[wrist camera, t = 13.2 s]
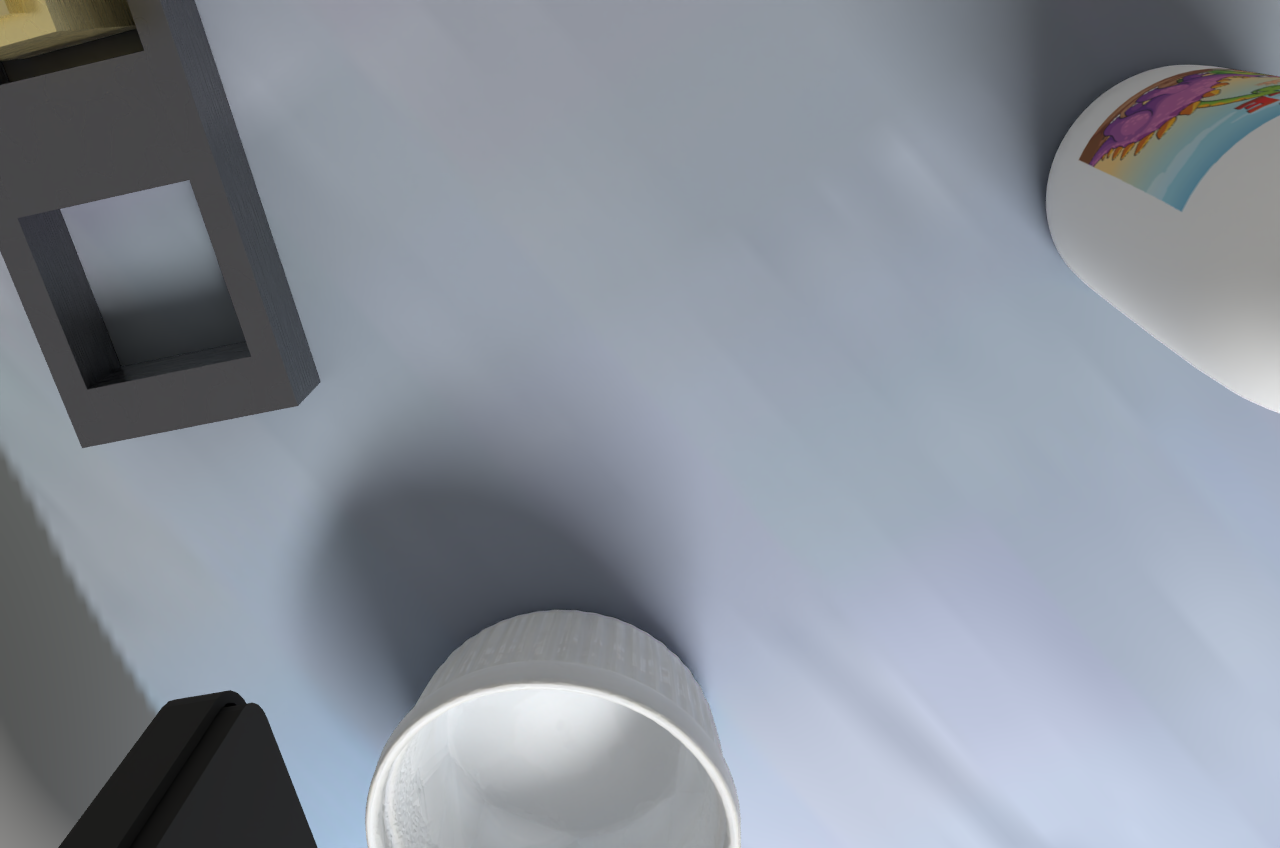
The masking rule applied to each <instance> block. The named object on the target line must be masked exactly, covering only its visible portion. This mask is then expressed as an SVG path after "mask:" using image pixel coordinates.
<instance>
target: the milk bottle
mask: <svg viewBox="0 0 1280 848" xmlns="http://www.w3.org/2000/svg"><path fill="white" fill-rule="evenodd" d="M1046 212H1047V221H1048V225H1049V229H1050V233H1051V236H1052V239H1053V242H1054V244H1055V246H1056V248H1057V250H1058V252H1059V254H1060V255H1061V257H1062V259H1063V260H1064V262H1065V263H1066V264H1067V265H1068V267H1069V268H1070V269H1071V270H1072V271H1073V272H1074V273H1075V274H1076V275H1077V276H1078V277H1079V278H1080V279H1081V280H1082V281H1083V282H1084V283H1085V284H1086V285H1087V286H1089V287H1090V288H1091V289H1092V290H1094V291H1095V292H1096V293H1097V294H1099V295H1100V296H1101V297H1102V298H1104V299H1105V300H1106V301H1108V302H1109V303H1110V304H1111V305H1113V306H1114V307H1115V308H1117V309H1118V310H1119V311H1120V312H1122V313H1123V314H1124V315H1126V316H1127V317H1128V318H1130V319H1131V320H1132V321H1133V322H1135V323H1136V324H1137V325H1139V326H1140V327H1141V328H1143V329H1144V330H1145V331H1147V332H1148V333H1149V334H1150V335H1152V336H1153V337H1154V338H1156V339H1157V340H1159V341H1160V342H1161V343H1163V344H1164V345H1165V346H1167V347H1168V348H1169V349H1171V350H1172V351H1173V352H1175V353H1176V354H1177V355H1179V356H1180V357H1182V358H1183V359H1184V360H1186V361H1187V362H1188V363H1190V364H1191V365H1192V366H1194V367H1195V368H1197V369H1198V370H1200V371H1201V372H1203V373H1204V374H1206V375H1207V376H1209V377H1211V378H1212V379H1214V380H1215V381H1217V382H1218V383H1220V384H1221V385H1223V386H1224V387H1226V388H1228V389H1229V390H1231V391H1232V392H1234V393H1235V394H1237V395H1239V396H1241V397H1243V398H1245V399H1247V400H1249V401H1251V402H1253V403H1256V404H1258V405H1260V406H1262V407H1265V408H1267V409H1269V410H1272V411H1275V412H1277V413H1280V77H1278V76H1272V75H1266V74H1260V73H1254V72H1247V71H1241V70H1234V69H1228V68H1221V67H1215V66H1202V65H1172V66H1165V67H1160V68H1156V69H1152V70H1148V71H1145V72H1142V73H1140V74H1137V75H1135V76H1132V77H1130V78H1128V79H1126V80H1124V81H1122V82H1120V83H1119V84H1117V85H1115V86H1114V87H1112V88H1111V89H1109V90H1108V91H1106V92H1105V93H1103V94H1102V95H1101V96H1100V97H1098V98H1097V99H1096V100H1095V101H1094V102H1093V103H1091V104H1090V105H1089V106H1088V107H1087V108H1086V109H1085V110H1084V111H1083V113H1082V114H1081V115H1080V116H1079V117H1078V118H1077V119H1076V121H1075V122H1074V123H1073V125H1072V126H1071V128H1070V129H1069V130H1068V132H1067V134H1066V135H1065V137H1064V139H1063V140H1062V142H1061V144H1060V146H1059V148H1058V150H1057V152H1056V155H1055V158H1054V160H1053V163H1052V166H1051V170H1050V173H1049V178H1048V184H1047V192H1046Z"/></svg>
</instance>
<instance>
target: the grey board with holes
mask: <svg viewBox="0 0 1280 848" xmlns="http://www.w3.org/2000/svg"><path fill="white" fill-rule="evenodd" d="M127 2H128V5H129V8H130V11H131V14H132V17H133V20H134V22H135V25H136V28H137V31H138V34H139V37H140V40H141V43H142V45H143V48H144V51H141V52H137V53H133V54H128V55H124V56H120V57H116V58H112V59H107V60H103V61H99V62H95V63H91V64H87V65H82V66H78V67H74V68H70V69H66V70H61V71H57V72H53V73H49V74H45V75H40V76H36V77H32V78H28V79H24V80H20V81H15V82H11V83H10V82H9V79H8V77H7V74H6V72H5V69H4V67H3V64H2V62H1V61H0V251H1V254H2V256H3V258H4V261H5V263H6V266H7V268H8V270H9V273H10V275H11V278H12V280H13V282H14V285H15V287H16V290H17V292H18V295H19V297H20V299H21V302H22V304H23V307H24V309H25V311H26V314H27V316H28V319H29V321H30V323H31V326H32V328H33V331H34V333H35V335H36V338H37V340H38V343H39V345H40V348H41V350H42V352H43V355H44V357H45V360H46V362H47V364H48V367H49V369H50V372H51V374H52V376H53V379H54V381H55V384H56V386H57V388H58V391H59V393H60V396H61V398H62V401H63V403H64V405H65V408H66V410H67V413H68V415H69V417H70V420H71V422H72V425H73V427H74V429H75V432H76V434H77V437H78V439H79V441H80V444H81V446H82V448H85V447H90V446H95V445H100V444H106V443H111V442H116V441H121V440H126V439H131V438H136V437H141V436H146V435H151V434H157V433H162V432H167V431H172V430H177V429H182V428H187V427H192V426H197V425H202V424H208V423H213V422H218V421H223V420H228V419H233V418H238V417H243V416H248V415H253V414H259V413H264V412H269V411H274V410H279V409H284V408H289V407H294V406H298V405H299V404H300V403H301V402H302V401H303V400H304V399H305V398H306V397H307V396H308V395H309V394H310V393H311V391H312V390H313V389H314V388H315V387H316V386H317V385H318V384H319V383H320V379H319V376H318V373H317V370H316V367H315V364H314V361H313V358H312V355H311V352H310V349H309V346H308V343H307V340H306V337H305V334H304V331H303V328H302V325H301V322H300V319H299V316H298V313H297V310H296V307H295V304H294V301H293V298H292V295H291V292H290V289H289V286H288V283H287V280H286V277H285V274H284V270H283V267H282V264H281V261H280V258H279V255H278V252H277V249H276V246H275V243H274V240H273V237H272V234H271V231H270V228H269V225H268V222H267V219H266V216H265V213H264V210H263V207H262V204H261V201H260V198H259V195H258V192H257V189H256V186H255V183H254V180H253V177H252V174H251V171H250V168H249V165H248V162H247V159H246V156H245V153H244V149H243V146H242V143H241V140H240V137H239V134H238V131H237V128H236V125H235V122H234V119H233V116H232V113H231V110H230V107H229V104H228V101H227V98H226V95H225V92H224V89H223V86H222V83H221V80H220V77H219V74H218V71H217V68H216V65H215V62H214V59H213V56H212V53H211V50H210V47H209V44H208V41H207V38H206V35H205V31H204V28H203V25H202V22H201V19H200V16H199V13H198V10H197V7H196V4H195V1H194V0H127ZM186 180H190V183H191V185H192V188H193V191H194V194H195V197H196V200H197V203H198V206H199V208H200V211H201V214H202V217H203V220H204V223H205V226H206V228H207V231H208V234H209V237H210V240H211V243H212V246H213V248H214V251H215V254H216V257H217V260H218V263H219V266H220V268H221V271H222V274H223V277H224V280H225V283H226V286H227V288H228V291H229V294H230V297H231V300H232V303H233V306H234V308H235V311H236V314H237V317H238V320H239V323H240V326H241V328H242V331H243V334H244V337H245V340H246V342H241V343H236V344H231V345H226V346H221V347H216V348H212V349H207V350H202V351H197V352H192V353H187V354H182V355H177V356H172V357H168V358H163V359H158V360H153V361H148V362H143V363H138V364H133V365H128V366H123V367H121V365H120V363H119V360H118V357H117V355H116V352H115V350H114V347H113V345H112V342H111V340H110V337H109V335H108V332H107V329H106V327H105V324H104V322H103V319H102V317H101V314H100V312H99V309H98V306H97V304H96V301H95V299H94V296H93V294H92V291H91V289H90V286H89V284H88V281H87V278H86V276H85V273H84V271H83V268H82V266H81V263H80V261H79V258H78V255H77V253H76V250H75V248H74V245H73V243H72V240H71V238H70V235H69V232H68V230H67V227H66V225H65V222H64V220H63V217H62V215H61V212H60V210H59V209H61V208H65V207H70V206H74V205H79V204H83V203H88V202H92V201H97V200H101V199H106V198H110V197H115V196H119V195H124V194H128V193H133V192H137V191H141V190H146V189H150V188H155V187H159V186H164V185H168V184H173V183H177V182H182V181H186Z"/></svg>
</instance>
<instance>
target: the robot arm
mask: <svg viewBox="0 0 1280 848" xmlns="http://www.w3.org/2000/svg"><path fill="white" fill-rule="evenodd" d="M59 848H317V845H316V843H315V840H314V838H313V835H312V832H311V830H310V827H309V825H308V822H307V820H306V817H305V814H304V812H303V809H302V807H301V804H300V802H299V799H298V796H297V794H296V791H295V789H294V786H293V784H292V781H291V778H290V776H289V773H288V771H287V768H286V766H285V763H284V760H283V758H282V755H281V753H280V750H279V748H278V745H277V742H276V740H275V737H274V735H273V732H272V730H271V727H270V724H269V722H268V719H267V717H266V715H265V713H264V711H263V709H262V708H261V707H260V706H259V705H257V704H255V703H248V704H246V702H245V700H244V699H243V698H242V697H241V696H240V695H239V694H238V693H236V692H233V691H231V690H230V691H224V692H218V693H212V694H206V695H200V696H194V697H188V698H182V699H176V700H172V701H169V702H168V703H167V704H166V705H164V706H163V707H162V708H161V710H160V711H159V712H158V714H157V715H156V717H155V718H154V719H153V721H152V722H151V723H150V725H149V726H148V727H147V729H146V730H145V731H144V733H143V734H142V736H141V737H140V738H139V740H138V741H137V742H136V744H135V745H134V746H133V748H132V749H131V750H130V752H129V753H128V754H127V756H126V757H125V759H124V760H123V761H122V763H121V764H120V765H119V767H118V768H117V769H116V771H115V772H114V773H113V775H112V776H111V777H110V779H109V780H108V782H107V783H106V784H105V786H104V787H103V788H102V789H101V791H100V792H99V794H98V795H97V796H96V798H95V799H94V800H93V802H92V803H91V804H90V806H89V807H88V808H87V810H86V811H85V812H84V814H83V815H82V816H81V818H80V819H79V821H78V822H77V823H76V825H75V826H74V827H73V829H72V830H71V831H70V833H69V834H68V835H67V837H66V838H65V839H64V841H63V842H62V843H61V845H60V846H59Z"/></svg>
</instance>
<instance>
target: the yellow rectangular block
mask: <svg viewBox="0 0 1280 848" xmlns="http://www.w3.org/2000/svg"><path fill="white" fill-rule="evenodd" d="M133 29H137V28H136V25H135V22H134V20H133V17H132V14H131V11H130V8H129V5H128V2H127V0H0V61H7V60H16V59H25V58H30V57H34V56H38V55H41V54H45V53H49V52H52V51H56V50H60V49H63V48H67V47H71V46H74V45H78V44H82V43H85V42H89V41H93V40H96V39H100V38H104V37H108V36H111V35H115V34H119V33H122V32H126V31H130V30H133Z"/></svg>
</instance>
